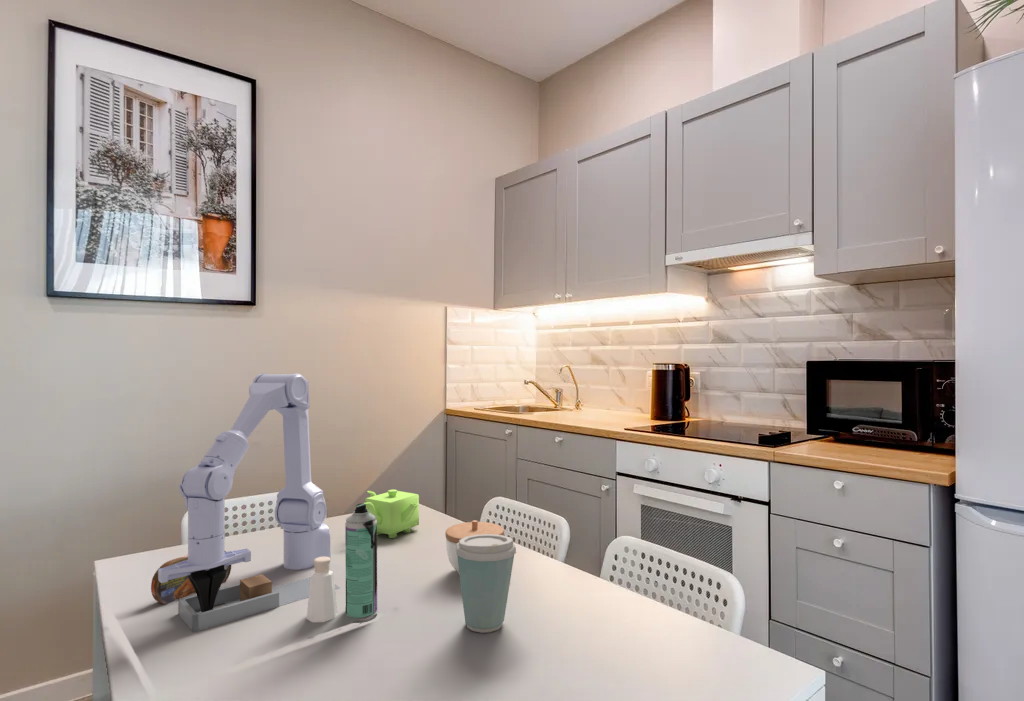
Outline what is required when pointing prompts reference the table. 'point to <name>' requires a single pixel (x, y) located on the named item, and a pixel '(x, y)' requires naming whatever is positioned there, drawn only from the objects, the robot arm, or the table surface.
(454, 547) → the lidded bowl
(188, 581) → the tin
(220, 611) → the trap channel
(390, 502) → the kettle
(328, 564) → the salt shaker
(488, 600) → the disposable coffee cup
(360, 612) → the spray can
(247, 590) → the walnut block
